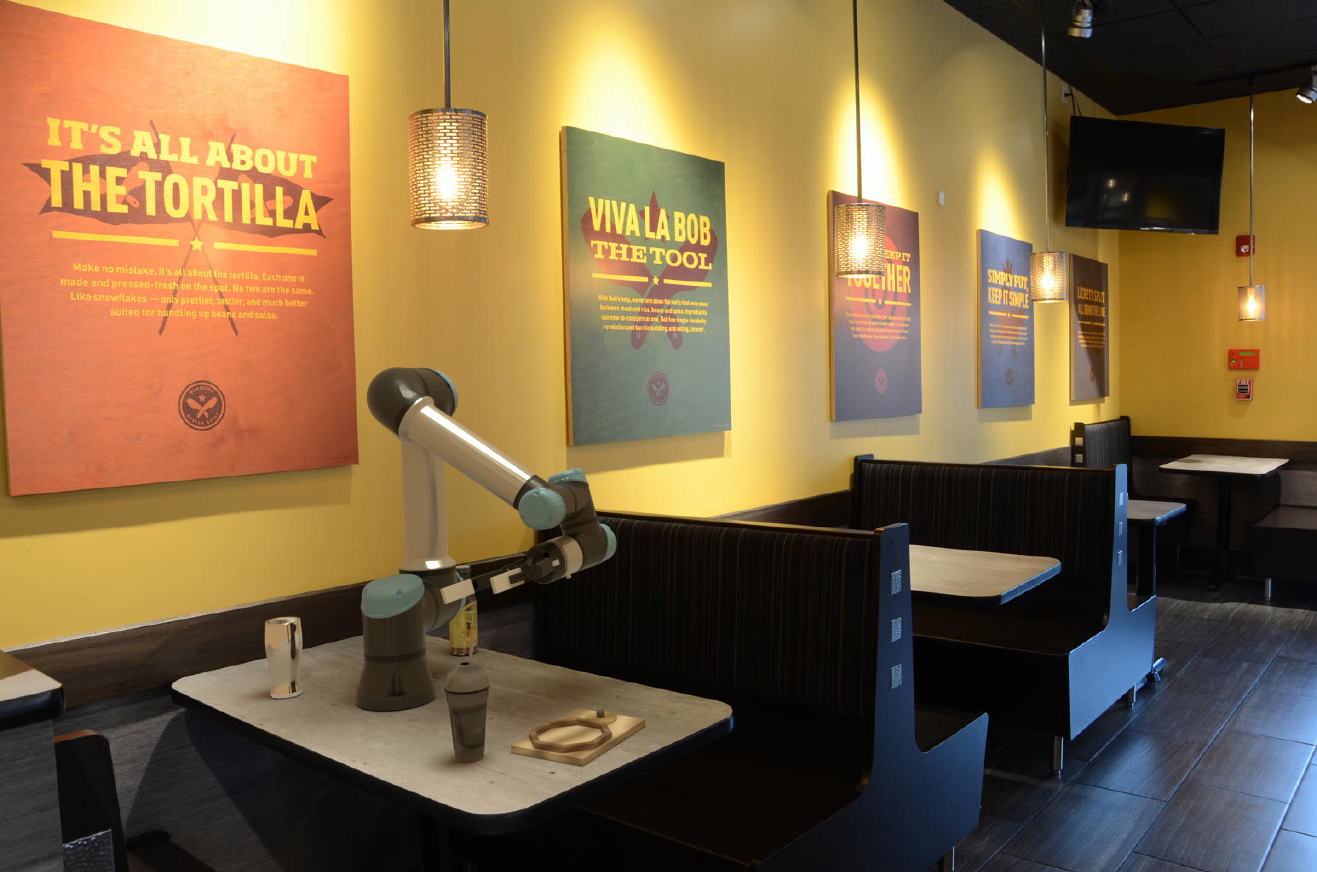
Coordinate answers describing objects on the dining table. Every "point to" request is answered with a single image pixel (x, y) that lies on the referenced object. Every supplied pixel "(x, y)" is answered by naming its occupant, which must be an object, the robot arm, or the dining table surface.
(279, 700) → the dining table surface
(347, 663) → the dining table surface
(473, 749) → the beverage cup
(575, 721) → the board
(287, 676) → the beer glass
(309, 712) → the dining table surface
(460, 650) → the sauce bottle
